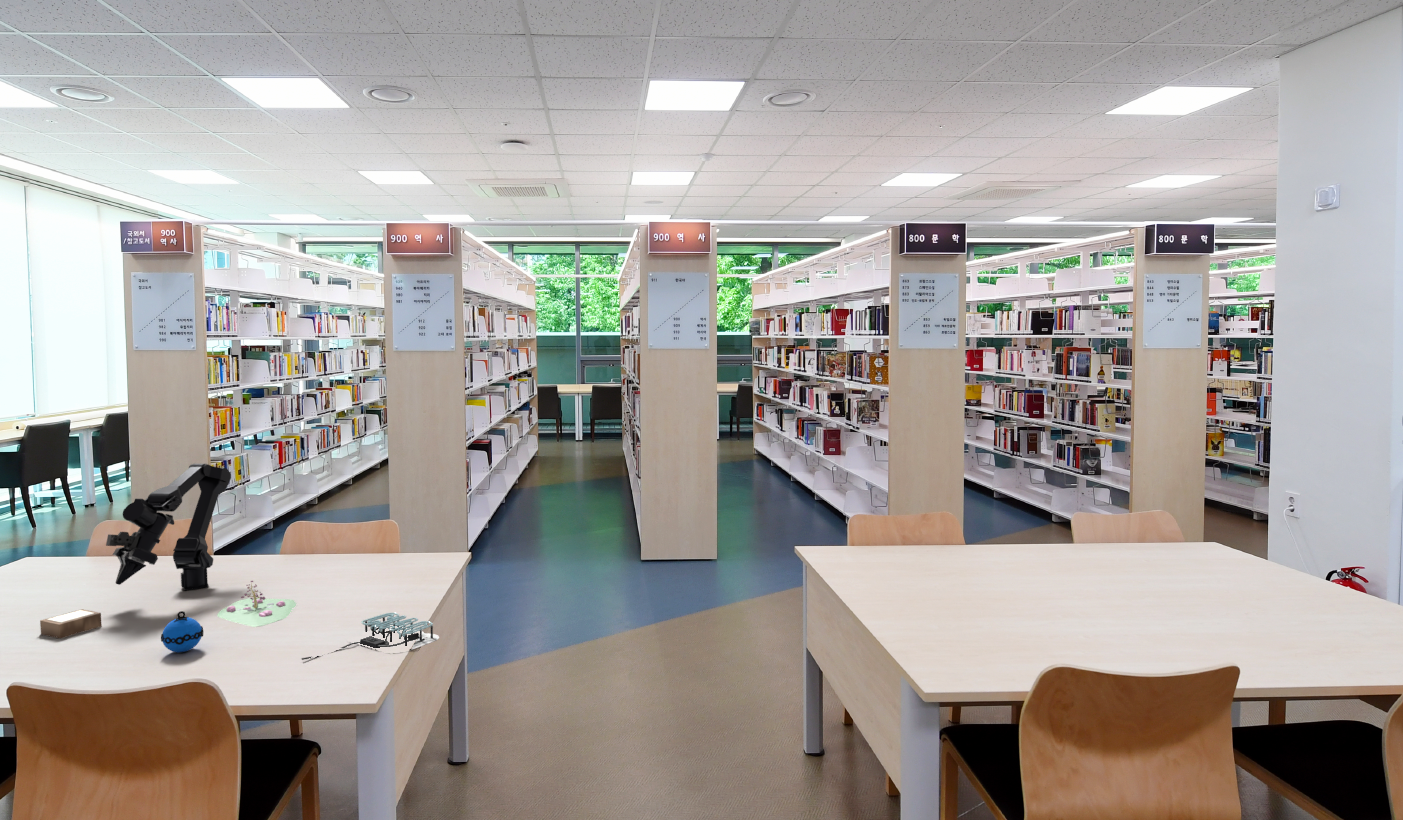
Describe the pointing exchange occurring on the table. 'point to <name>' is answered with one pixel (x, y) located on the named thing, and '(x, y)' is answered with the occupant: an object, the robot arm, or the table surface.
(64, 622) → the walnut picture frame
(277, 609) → the plant
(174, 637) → the ornament
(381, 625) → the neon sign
